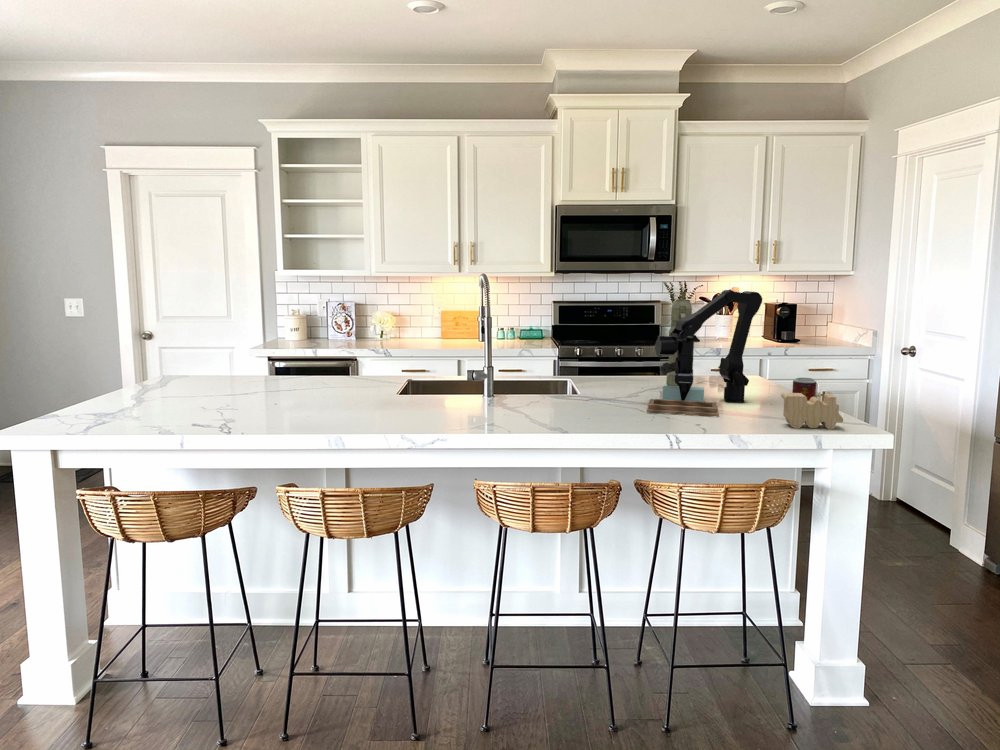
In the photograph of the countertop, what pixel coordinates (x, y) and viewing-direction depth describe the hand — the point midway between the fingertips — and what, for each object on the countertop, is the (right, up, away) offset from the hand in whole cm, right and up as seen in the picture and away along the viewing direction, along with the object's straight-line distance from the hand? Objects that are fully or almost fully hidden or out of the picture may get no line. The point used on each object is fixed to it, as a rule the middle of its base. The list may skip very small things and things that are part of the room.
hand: (683, 398), depth 255 cm
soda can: (+34, -5, -21) cm, 40 cm away
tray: (-4, -4, -14) cm, 15 cm away
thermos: (+4, +2, +23) cm, 23 cm away
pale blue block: (0, -2, 0) cm, 2 cm away
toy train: (+30, -8, -36) cm, 47 cm away
